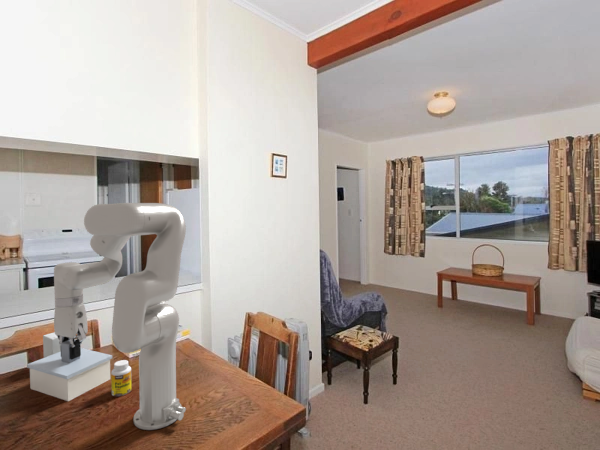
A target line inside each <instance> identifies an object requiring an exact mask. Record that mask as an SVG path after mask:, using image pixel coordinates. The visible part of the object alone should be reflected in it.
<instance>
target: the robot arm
mask: <svg viewBox="0 0 600 450" xmlns="http://www.w3.org/2000/svg"><path fill="white" fill-rule="evenodd" d="M83 224H84V228H85V230H86V231H87V232H88V233H89V234H91V235H92V237H91V238H90V240H89V244H90V248H91V249H92V251H93V252H95V254H97V255H99V256H101V257H102V259H101V260H100V261H95V262H89V263H88V262H87V263H83V264H81V263H79V262H72V261H71V262H62V263H58V264H56V265H55V266H54V268H53V282H54V283H53V286H54V313H53V314H54V316H53V319H54V320H53V329H54V332H55V334H56V335H57V337H58V339H59V344H60V347H61V343H62V342H65V341H68V340H70V343H71V347H70V359H71V360H72V359H74V358H77V357H79V356H81V348H82V347H81V345H82V342H83V341H85V340H87V336H86V334H88V329H89V328H88V326H89V325H88V317H87V311H86V307H85V304H84V291H83V290H84V289H87V288H92V287H97V286H102V285H105V284H107V283H109V282H110V281H112V280H113V279H114V278H115V277H116V275H117V274H118V273H119V271H120V270H121V268H122V265H123V254H122V250H123V248H124V247H125V246H126V244H127V243H128V241H129V240H130V239H131V237H135V236H147V235H156V237H155V239H154V240H153V241H152V243H151V244H150V246H149V248H148V251H147V256H146V265H145V268H144V270H141V271H137V272H133V273H129V274H126V276H124V277H123V278H122V279H121V280H119V283H118V285H117V287H116V290H115V293H114V301H113V303H114V304H113V313H112V324H111V325H112V326H111V334H112V335H111V337H112V341H113V343H114V344H113V345H114V346H115V348H116V349H117V350H118V351H119V352H121V353H125V354H131V353H134V352H137V351H140V352H139V357H138V379H139V381H138V382H139V383H138V384H139V388H138V389H139V393H138V395H139V409H138V410H136V412H135V413H134V414H133V415H134V416H133V425H134V426H135V427H136V428H138V429H140V430H144V431H145V430H146V431H154V430H159V429H162V428H166V427H168V426H170V425H171V424H173V423H175V422H176V421H177V420H178V421H182V420H183V419H184V416H185V415H184V413H186V410H187V408H186V407H184V406H182V404H181V403H180V398H177V367H176V366H177V365H176V363H177V362H176V361H177V351H176V349H177V338H178V337H177V336H178V333H179V327H180V316H179V313H178V311H177V309H176V308H175V307H174V306H173V305H170V304H168V303H166V302H167V301H168V302H169V301H170V300H172V299H174V297H175V296H176V294H177V291H178V287H179V277H180V269H181V260H182V259H181V258H182V251H183V246H184V243H185V238H186V232H187V231H186V230H187V228H186V227H187V226H186V220H185V218H184V216H183V215H182V213H181V212H180V210H179V209H178V208H176V207H175V206H174V205H172V204H171V205H170V204H166V203H161V202H121V203H119V202H118V203H98V204H94V205H93V206H91V207H89V209H88V210H86V213H85V215H84V219H83ZM74 339H75V342H74Z"/></svg>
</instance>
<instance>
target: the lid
mask: <svg viewBox="0 0 600 450" xmlns="http://www.w3.org/2000/svg"><path fill="white" fill-rule="evenodd" d="M75 340H76V338H75V339H74V342H75ZM70 347H71V343H70V340H68V341H65V342H62V343H61V352H58V353H55V354H53V355H50V356H48V357H45V358H44V357H43V358H40V359H38V360H35V361H33V362H29V363H27V364H26V368H27V369H29V370H30V369H34V370H37V371H40V372H44V373H47V374H51V375H54V376H57V377H61V378H64V379H69V378H71V377H73V376H75V375H78V374H80V373H82V372H84V371H86V370H88V369H91V368H93V367H95V366H97V365H99V364H101V363H103V362H106V361H108V360H110V361H111V359H113V355H112V354H109V353H104V352H100V351H94V350H91V349H87V348H83V347H81V356H79V357H77V358H74V359H72V360H71V359H70Z"/></svg>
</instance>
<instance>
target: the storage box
mask: <svg viewBox="0 0 600 450" xmlns="http://www.w3.org/2000/svg"><path fill="white" fill-rule="evenodd" d="M109 380H110V381H111V359H110V360H108V361H106V362H103V363H101V364H99V365H97V366H95V367H93V368H91V369H88V370H86V371H84V372H82V373H80V374H78V375H75V376H73V377H71V378H69V379H64V378H61V377H57V376H54V375H51V374H47V373H44V372H40V371H37V370H34V369H30V368H29V382H30V385H29V386H30V389H31V390H33V391H37V392H39V393H42V394H45V395H48V396H51V397H54V398H57V399H60V400H64V401H65V402H70V401H72V400H73V399H75V398H77V397H80V396H81V395H84V394H86V393H87V392H89V391H91V390H93V389H94V388H96V387H99V386H100V385H102V384H104V383H106V382H107V381H109Z"/></svg>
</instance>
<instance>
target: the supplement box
mask: <svg viewBox="0 0 600 450" xmlns="http://www.w3.org/2000/svg"><path fill="white" fill-rule="evenodd" d="M42 345H43V347H42V349H43V358H45V357H48V356H50V355H53V354H55V353H58V352H61V347H60V344H59V339H58V337H57V335H56V334H55V331H54V332H51V333H47V334H44V335H42Z"/></svg>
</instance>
